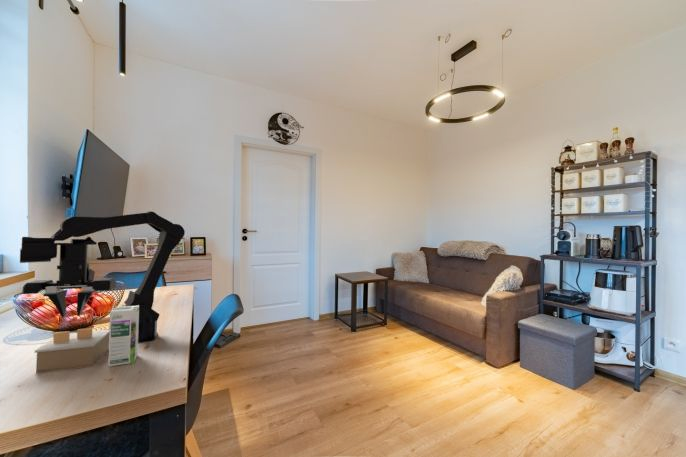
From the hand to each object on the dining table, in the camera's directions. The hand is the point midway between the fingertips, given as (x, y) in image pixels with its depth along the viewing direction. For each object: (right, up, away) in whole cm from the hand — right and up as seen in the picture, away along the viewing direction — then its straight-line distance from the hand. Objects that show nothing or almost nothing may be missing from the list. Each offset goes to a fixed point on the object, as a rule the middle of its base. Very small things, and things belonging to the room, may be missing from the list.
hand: (71, 315), depth 81 cm
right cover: (+3, -6, 0) cm, 7 cm away
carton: (+4, -11, -3) cm, 12 cm away
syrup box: (+17, -12, -3) cm, 21 cm away
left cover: (+6, -6, -6) cm, 10 cm away
